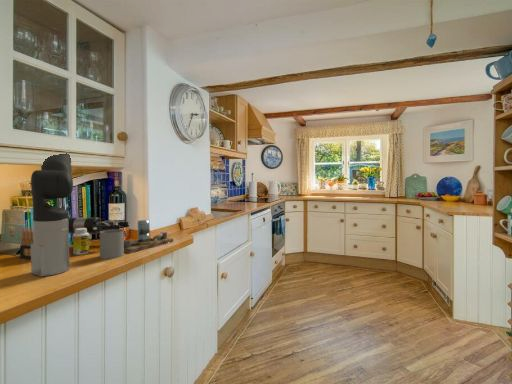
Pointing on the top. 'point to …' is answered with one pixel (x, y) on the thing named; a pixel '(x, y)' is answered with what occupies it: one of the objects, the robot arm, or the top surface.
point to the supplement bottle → (80, 241)
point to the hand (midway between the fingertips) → (123, 225)
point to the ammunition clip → (26, 243)
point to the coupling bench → (146, 243)
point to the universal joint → (143, 231)
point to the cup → (111, 243)
